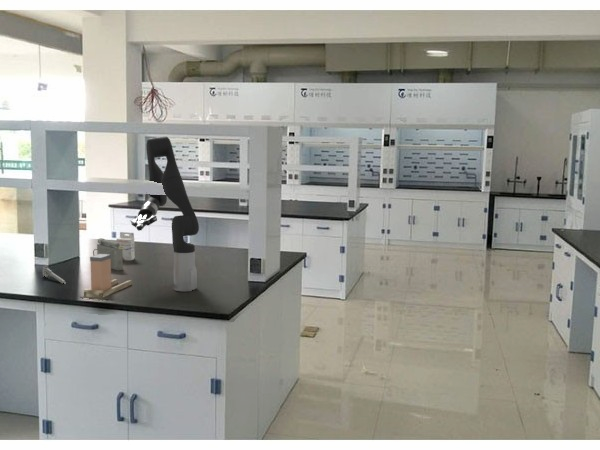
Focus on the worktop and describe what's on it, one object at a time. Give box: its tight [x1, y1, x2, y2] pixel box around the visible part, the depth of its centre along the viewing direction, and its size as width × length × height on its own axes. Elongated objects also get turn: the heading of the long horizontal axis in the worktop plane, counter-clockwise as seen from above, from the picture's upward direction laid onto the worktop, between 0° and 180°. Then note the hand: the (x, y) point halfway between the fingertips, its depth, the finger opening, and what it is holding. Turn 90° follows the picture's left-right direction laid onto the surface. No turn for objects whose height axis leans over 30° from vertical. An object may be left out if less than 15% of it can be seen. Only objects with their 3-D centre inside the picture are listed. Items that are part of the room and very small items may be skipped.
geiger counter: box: [92, 237, 124, 271], centre depth 310 cm, size 14×6×25 cm
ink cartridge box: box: [116, 231, 135, 261], centre depth 328 cm, size 9×5×15 cm, turn 84°
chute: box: [79, 278, 133, 301], centre depth 259 cm, size 12×24×4 cm, turn 166°
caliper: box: [42, 264, 67, 285], centre depth 279 cm, size 20×1×6 cm, turn 49°
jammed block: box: [89, 254, 112, 291], centre depth 253 cm, size 5×7×16 cm
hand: (139, 228), depth 269 cm, fingers closed
